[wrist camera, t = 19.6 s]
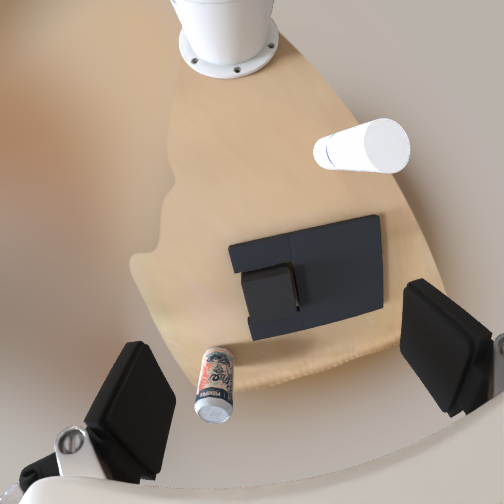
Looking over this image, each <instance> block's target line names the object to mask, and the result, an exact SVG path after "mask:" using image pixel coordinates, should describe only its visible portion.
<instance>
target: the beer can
mask: <svg viewBox="0 0 504 504" xmlns="http://www.w3.org/2000/svg"><path fill="white" fill-rule="evenodd" d="M233 382H234V356H233V354H232V353H231V352H230V351H229V350H227V349H225V348H221V347H214V348H211V349H209V350H207V351H206V352H205V354H204V356H203V362H202V367H201V373H200V378H199V384H198V390H197V395H196V401H195V410H196V412H197V414H198V416H199V418H200V419H202V420H203V421H205V422H207V423H213V424H218V423H223V422H225V421H226V420H227V419H228V418H229V416H231V414H232V412H233Z"/></svg>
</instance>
